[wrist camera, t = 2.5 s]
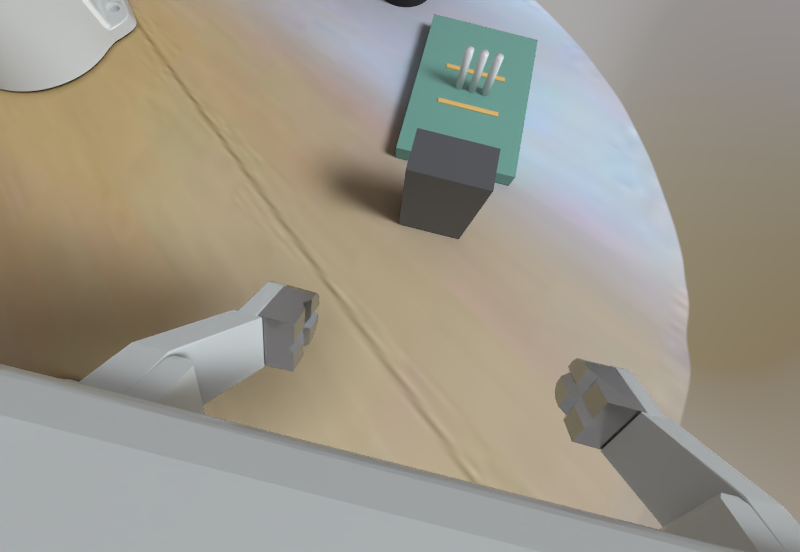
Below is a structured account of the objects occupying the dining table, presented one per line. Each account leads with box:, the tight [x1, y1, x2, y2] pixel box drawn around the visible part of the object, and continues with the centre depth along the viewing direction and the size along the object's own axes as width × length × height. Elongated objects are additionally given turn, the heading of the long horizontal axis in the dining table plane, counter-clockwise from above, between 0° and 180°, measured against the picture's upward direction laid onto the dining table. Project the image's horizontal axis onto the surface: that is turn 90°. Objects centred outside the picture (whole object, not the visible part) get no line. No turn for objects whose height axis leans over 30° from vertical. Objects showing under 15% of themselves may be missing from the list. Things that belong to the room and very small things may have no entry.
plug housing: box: [399, 128, 501, 239], centre depth 24 cm, size 6×3×9 cm, turn 76°
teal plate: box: [396, 14, 537, 186], centre depth 29 cm, size 12×18×6 cm, turn 166°
